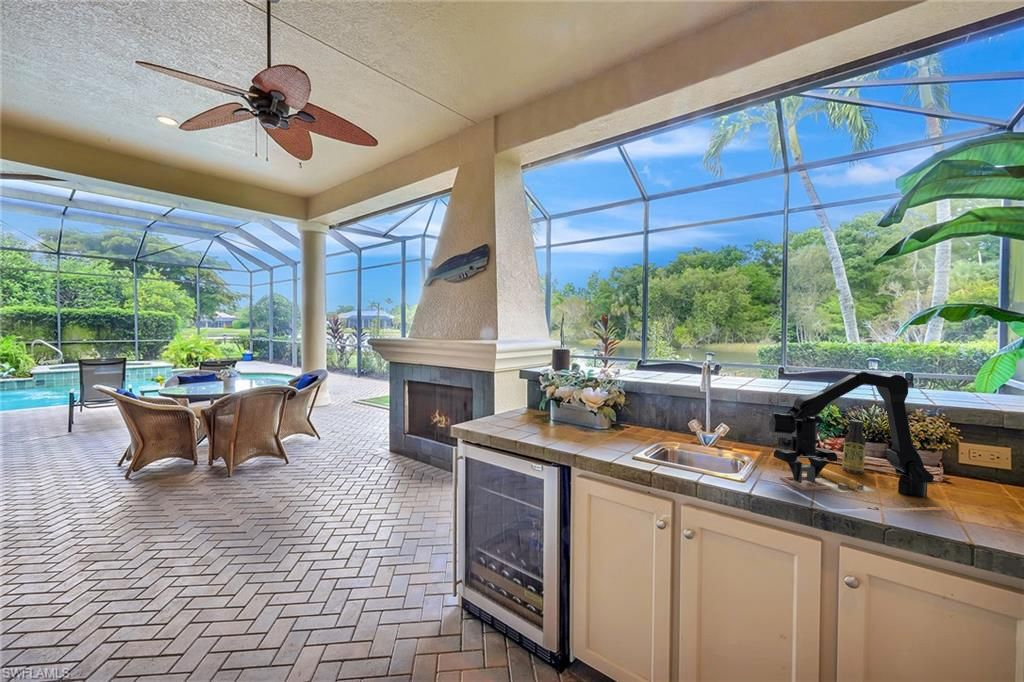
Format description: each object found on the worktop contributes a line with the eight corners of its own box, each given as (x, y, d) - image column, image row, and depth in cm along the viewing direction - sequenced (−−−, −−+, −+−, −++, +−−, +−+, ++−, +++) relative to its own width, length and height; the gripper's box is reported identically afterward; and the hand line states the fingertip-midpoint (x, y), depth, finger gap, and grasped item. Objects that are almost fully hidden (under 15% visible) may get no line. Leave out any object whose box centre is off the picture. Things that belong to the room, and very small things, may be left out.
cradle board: (799, 475, 148) (799, 469, 148) (832, 475, 149) (832, 469, 149) (840, 494, 131) (840, 487, 131) (877, 493, 132) (877, 487, 132)
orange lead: (814, 474, 147) (814, 466, 147) (822, 474, 147) (822, 466, 147) (851, 490, 132) (852, 481, 132) (860, 490, 133) (860, 481, 132)
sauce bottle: (841, 472, 152) (843, 420, 152) (842, 468, 157) (844, 417, 156) (864, 477, 148) (866, 423, 147) (865, 472, 152) (866, 420, 152)
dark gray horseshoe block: (809, 480, 140) (809, 464, 139) (815, 482, 137) (815, 467, 137) (793, 480, 139) (793, 465, 139) (798, 483, 137) (799, 467, 137)
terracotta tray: (806, 480, 143) (806, 475, 143) (830, 491, 133) (830, 486, 133) (779, 480, 143) (779, 476, 143) (801, 491, 133) (802, 487, 133)
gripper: (812, 429, 146) (811, 471, 147) (763, 429, 145) (762, 472, 145) (839, 436, 135) (838, 483, 136) (786, 437, 134) (785, 483, 134)
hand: (804, 480), depth 138 cm, fingers closed on dark gray horseshoe block, 5 cm apart
